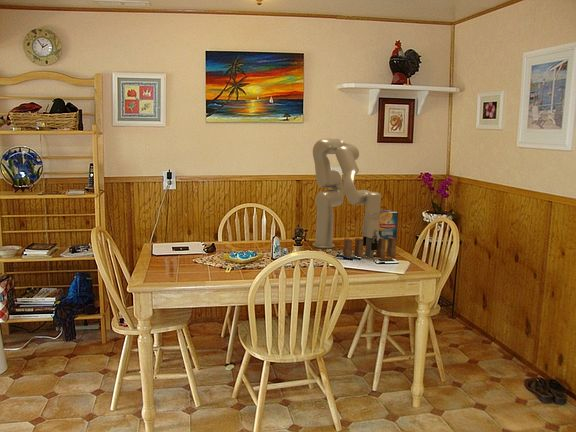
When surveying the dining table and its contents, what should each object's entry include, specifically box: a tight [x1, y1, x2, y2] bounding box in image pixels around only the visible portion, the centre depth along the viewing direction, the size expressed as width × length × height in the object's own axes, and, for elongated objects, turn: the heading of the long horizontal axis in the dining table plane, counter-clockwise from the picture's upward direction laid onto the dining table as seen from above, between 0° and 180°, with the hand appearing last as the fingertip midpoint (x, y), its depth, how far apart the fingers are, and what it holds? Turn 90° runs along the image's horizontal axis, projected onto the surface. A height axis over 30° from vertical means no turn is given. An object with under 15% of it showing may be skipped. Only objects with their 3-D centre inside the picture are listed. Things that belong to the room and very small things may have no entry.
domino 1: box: [342, 238, 353, 258], centre depth 285 cm, size 5×2×10 cm, turn 20°
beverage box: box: [374, 209, 399, 253], centre depth 306 cm, size 7×11×22 cm, turn 103°
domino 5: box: [386, 237, 397, 258], centre depth 294 cm, size 5×2×10 cm, turn 20°
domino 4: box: [375, 237, 386, 259], centre depth 292 cm, size 5×2×10 cm, turn 20°
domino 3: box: [364, 238, 375, 259], centre depth 290 cm, size 5×2×10 cm, turn 20°
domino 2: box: [353, 237, 364, 258], centre depth 288 cm, size 5×2×10 cm, turn 20°
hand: (369, 247), depth 290 cm, fingers open, 9 cm apart
